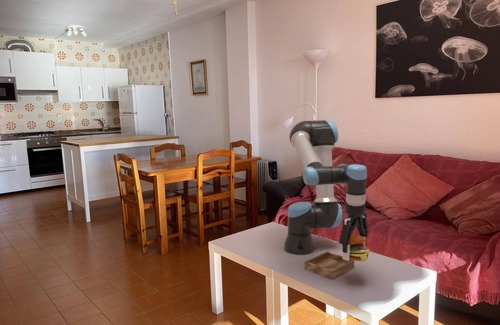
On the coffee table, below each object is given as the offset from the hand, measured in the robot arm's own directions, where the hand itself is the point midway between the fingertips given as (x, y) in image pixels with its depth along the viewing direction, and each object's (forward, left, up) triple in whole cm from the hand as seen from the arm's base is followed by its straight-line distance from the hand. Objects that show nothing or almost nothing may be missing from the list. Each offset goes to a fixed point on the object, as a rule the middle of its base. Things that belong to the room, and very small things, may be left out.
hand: (353, 255), depth 156 cm
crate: (-14, +3, -11) cm, 18 cm away
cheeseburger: (+1, 0, -1) cm, 1 cm away
